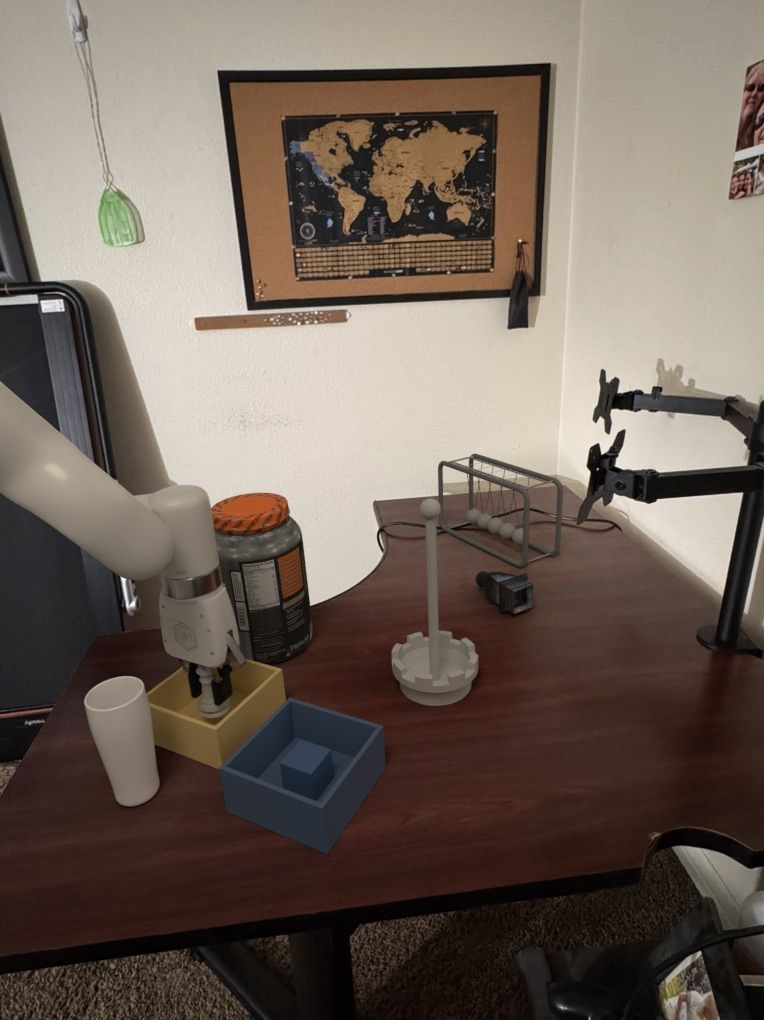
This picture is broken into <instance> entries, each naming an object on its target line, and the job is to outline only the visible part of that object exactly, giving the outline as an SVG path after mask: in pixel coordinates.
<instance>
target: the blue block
mask: <svg viewBox="0 0 764 1020" xmlns="http://www.w3.org/2000/svg"><path fill="white" fill-rule="evenodd" d="M280 769H281V776H282V783H283V789H286V790H288V791H291V792H294V793H296V794H299V795H301V796H304V797H307V798H309V799H312V800H314V801H317V800H318V798H319V797H320V796H321V794H322V793H323V792H324V790H325V789H326V788H327V786H328V785H329V784H330V783H331V781H332V780H333V779H334V775H333V765H332V755H331V749H328V748H325V747H322V746H319V745H316V744H313V743H310V742H307V741H304V740H301V739H300V741H299V742H298V743H297V744H296V745H295V746H294V747H293V748H292V750H291V751H290V752H289V753H288V754H287V755H286V756H285V757H284V759H283V760H282V761H281V762H280Z"/></svg>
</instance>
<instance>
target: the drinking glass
mask: <svg viewBox="0 0 764 1020" xmlns="http://www.w3.org/2000/svg"><path fill="white" fill-rule="evenodd" d="M147 693H148V692H147V690H146V687H145V683H144V682H143V680H142V679H141V678H139V677H136V676H131V675H122V676H116V677H112V678H109V679H106V680H103V681H102V682H100V683H98V684H96V685H95V686H94V687H92V688H91V689H90V690H89V691H88V692H87V693H86V695H85V697H84V700H83V705H84V709H85V715H86V719H87V724H88V727H89V730H90V733H91V736H92V739H93V742H94V744H95V747H96V748H97V751H98V754H99V757H100V759H101V762H102V764H103V767H104V769H105V772H106V775H107V777H108V780H109V783H110V785H111V788H112V791H113V795H114V796H113V797H114V799H115V800H116V803H118V804H119V805H121V806H123V807H136V806H141V805H143V804H145V803H147V802H148V801H150V800H151V799H152V798H154V796H155V795H156V794H157V793H158V791H159V789H160V785H161V784H160V783H161V782H160V781H161V780H160V775H159V772H158V763H157V755H156V754H157V753H156V745H155V744H154V736H153V727H152V718H151V711H150V706H149V701H148V697H147Z"/></svg>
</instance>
